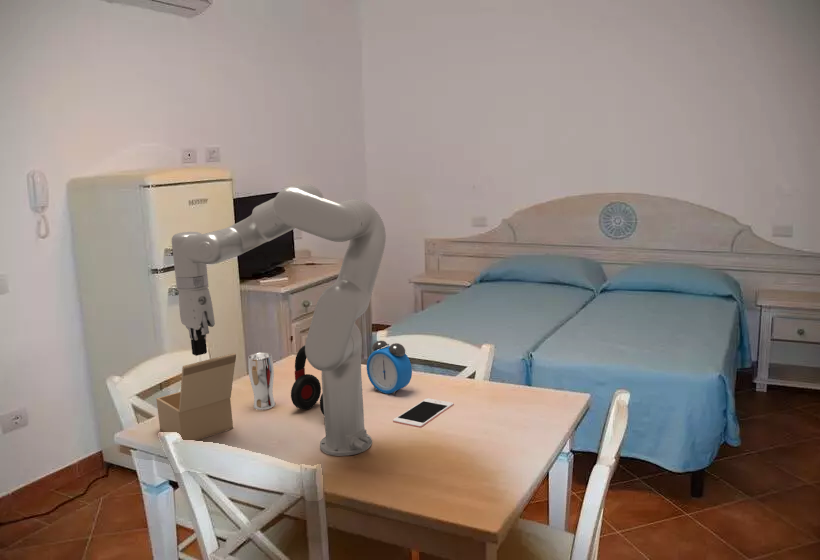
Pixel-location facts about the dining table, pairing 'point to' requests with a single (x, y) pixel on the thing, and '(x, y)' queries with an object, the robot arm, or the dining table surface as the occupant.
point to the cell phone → (423, 412)
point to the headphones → (305, 385)
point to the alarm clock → (389, 367)
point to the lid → (206, 382)
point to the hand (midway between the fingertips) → (199, 353)
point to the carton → (194, 418)
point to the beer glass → (261, 380)
